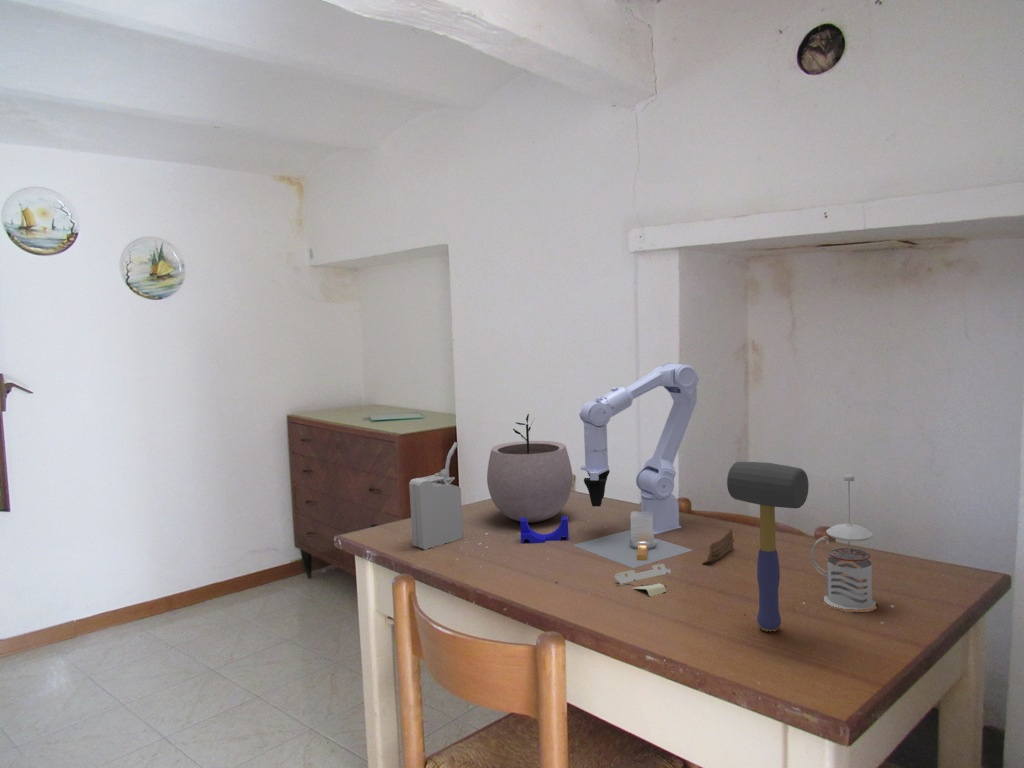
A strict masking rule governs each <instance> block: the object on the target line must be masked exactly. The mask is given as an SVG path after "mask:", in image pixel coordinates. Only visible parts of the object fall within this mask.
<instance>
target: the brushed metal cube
mask: <svg viewBox="0 0 1024 768" xmlns="http://www.w3.org/2000/svg"><path fill="white" fill-rule="evenodd" d="M630 530H631V542H653V538H654V537H655V534H654V528H653V512H642V511H631V512H630Z"/></svg>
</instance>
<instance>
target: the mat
mask: <svg viewBox="0 0 1024 768" xmlns="http://www.w3.org/2000/svg"><path fill="white" fill-rule="evenodd" d="M630 537H631V529H629V530H625V531H621V532H617V533H614V534H609V535H606V536H601V537H597V538H594V539H589V540H586V541H583V542H578V543H574V544H572V546H573V547H576V548H579V549H581V550H584V551H587V552H589V553H591V554H594V555H597V556H600V557H602V558H605V559H608V560H610V561H612V562H616V563H618V564H621V565H623V566H626V567H628V568H631V569H635V568H639V567H642V566H646V565H648V564H653V563H655V562H659V561H663V560H665V559H669V558H672V557H675V556H679V555H683V554H686V553H688V552H689V553H690V552H692V551H694V550H693V549H690V548H688V547H685V546H681V545H679V544H675V543H672V542H669V541H665V540H662V539H659V538H656V539H657V547H656V548H654V549H651V550H648V551H647V560H637V549H633V548H631V547H630Z"/></svg>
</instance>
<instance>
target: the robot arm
mask: <svg viewBox="0 0 1024 768" xmlns="http://www.w3.org/2000/svg"><path fill="white" fill-rule="evenodd" d="M699 380H700V378H699V375H698V374H697V372H696V370H695V368H694V367H693V366H692V365H691V364H687V363H686V364H679V363H672V362H666V363H663V364H662V365H661V366H657V367H655V368H654V369H653V370H652V371H650V372H649V373H647V374H645V375H644V376H643V377H641V378H640V379H638V380H636V381H635V382H633V383H632V384H631V385H629V386H627V387H624V386H618V387H617V386H613V387H611V388H610V390H611V391H609V392H607V393H606V394H603V395H602V396H597V397H595V401H587V402H586V403H585V404H583V405H582V408H581V409H580V412H579V413H578V416H579V418H580V421H582V423H583V438H584V464H585V465H581V466H580V470H581V471H586V472H587V475H588V476H589V477H584V478H583V483H584V484H585V487H586V488H587V490H588V494H589V500H590V503H591V506H592V507H601V506H602V501H603V499H604V498H605V497H604V496H605V490H606V484H607V480H608V477H609V474H610V471H611V470H610V467H609V456H608V455H609V454H608V429H607V426H608V423H609V422H610V421H611V418H612V417H614V416H616V415H618V414H620V413H621V412H623V411H625V410H626V409H628V408H630V407H631V406H632V404H633V401H634V399H636V398H639V397H640V396H642V395H644V394H646V393H648V392H650V391H652V390H653V389H656V388H658V387H663V388H664V389H665V390H666V391H667V392H668V394H669V395H670V397H671V399H672V401H673V403H672V406H671V409H670V411H669V414H668V417H667V419H666V421H665V424H664V427H663V429H662V431H661V434H660V437H659V439H658V443H657V445H656V448H655V450H654V453H653V456H652V457H651V458H650V459H648V460H646V461H645V462H644V465H643V467H642V468H641V469H640V470H639V471H638V473H637V475H636V478H635V484H636V486H637V489H639V490H640V497H641V498H640V501H641V504H640V505H641V512H653V528H654V535H658V534H662V533H666V532H669V531H673V530H677V529H680V528H682V526H681V525H680V513H679V511H680V508H679V501H678V499H677V497H676V496H675V495H674V494H672V493H673V491H674V488H675V477H676V475H677V473H676V470H675V468H674V462H675V460H676V457H677V454H678V451H679V449H680V446H681V443H682V441H683V438H684V435H685V433H686V430H687V429H688V425H689V423H690V420H691V418H692V416H693V413H694V410H695V407H696V405H697V402H698V401H697V400H698V397H697V393H698V392H697V390H698V389H697V385H698V383H699Z"/></svg>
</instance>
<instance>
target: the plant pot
mask: <svg viewBox="0 0 1024 768" xmlns="http://www.w3.org/2000/svg"><path fill="white" fill-rule="evenodd" d="M529 417H530V414H529V413H527V415H526V418H525V420H526V421H525V422H526V423H522V422H521V423H520V422H515V424H516V425H519V426H525V430H526V431H525V432H526V437H525V436H524V435H523V434H522V432H519V431H518V430H516V429H514V428H512V430H513V431H514V433H515V434H516V435H517V434H518V435H520V437H521V438H522V439H524V440H522V441H513V442H506V443H500V444H497V445H494V446H493V447H491V450H490V453H489V457H488V459H489V460H488V464H487V473H486V483H487V488H488V489H487V490H488V493H489V496H490V498H491V500H492V502H493V504H494V505H495V507H496V508H497V509H498V510H499V512H500V513H501V514H502V515H504V516H505V517H507V518H509V519H511V520H513V521H517V522H520V520H521V518H527V523H528V524H529V523H538V522H539V523H540V522H543V521H546V520H549V519H551V518H553V517H555V516H556V515H557V514H559V513H560V512H561V510H562V509H563V508H564V507H565V505H566V504H567V502H568V500H569V498H570V495H571V491H572V487H573V470H572V464H571V460H570V456H569V453H568V449H567V447H566V444H565V443H562V442H558V441H552V440H530V439H529V437H530V434H529V433H530V431H531V427H532V426H529V424H528V422H529ZM535 418H536V417H534V418H533V420H532V422H531V424H533V422H534V421H535Z"/></svg>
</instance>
